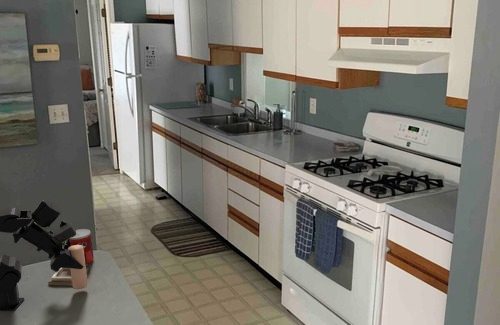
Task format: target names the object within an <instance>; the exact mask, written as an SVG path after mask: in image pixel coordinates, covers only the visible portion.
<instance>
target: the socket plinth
mask: <svg viewBox="0 0 500 325" xmlns="http://www.w3.org/2000/svg"><path fill="white" fill-rule="evenodd" d="M88 272H89V268H87V267H86V273H87V274H88ZM47 283H48V286H73V285H72V278H71V270H70V268H60V270H59V271H58V272H54V274H53V275H52V276H51V278H50V279H49V280H48V282H47Z"/></svg>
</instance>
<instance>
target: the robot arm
mask: <svg viewBox="0 0 500 325" xmlns="http://www.w3.org/2000/svg"><path fill="white" fill-rule="evenodd" d="M62 213H63V211H62V209H61V208H60V207H59V206H58V205H56V204H55V203H54V202H51V201H49V200H45V199H43V198H42V199H41V200H40V201H39V203H38V204H37V206H36V207H35V208H34V209H18V208H16V207H7V208H3V209H0V233H5V234H6V233H7V234H12V237H13V242H14V244H17V243H18V242H19V241H20V240H21V239H22V240H24V241H25V242H27V243H28V244H30V245H32V246H33V247H35V250H36V251H37V252H40V251H42V252H43V253H45V254H46V255H47V258H48V259H50V270H51V271H53V272H54V273H56V272H58V271H59V270H60V268H73V269H82V268H83V267H84V266H83V265H82V264H81V263H80V262H79V261H77V260H76V259H75V258H74V257H73V256H72V254H71V249H70V251H68V248H69V247H71V242H70V239H69V238H71V237H74V236H75V235H76V230H77V229H76V228H75V226H74V225H73V223H72V222H70V221H67V220H64V219H63V220H61V221H60V222H59V227H58V228H56V230H52V229H48V230H47V229H46V228H47V227H48V228H49V227H51V226H52V225H53V223H54V222H55V221H56V220H57V218H58V217H60V215H61V214H62ZM68 239H69V240H68ZM22 272H23V265H22V263H21V261H20V260H18V259H17V257H15V256H9V255H6V254H5V253H2V254H1V257H0V311H15V310H16V309H17V308H18V307H19V306H20V305H21V304H22V303H23V302H24V301H25V298H24V297H20V293H19V286H18V283H19V282H20V281H21V280H22V274H23V273H22Z"/></svg>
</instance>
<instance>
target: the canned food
mask: <svg viewBox="0 0 500 325" xmlns="http://www.w3.org/2000/svg"><path fill="white" fill-rule="evenodd" d="M91 233H92V232H91V230H90V229H87V228H80V229H76V235H75V236H74V237H71V238H69V239H70V242H71V246H74V245H82V246H83V249H84V257H85V265H86V266H87V265H90V264H91V263H92V262H93V261H94V259H95V258H94V250H93V249H94V247H93V241H92V234H91ZM69 239H67V241H68V240H69Z"/></svg>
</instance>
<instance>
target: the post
mask: <svg viewBox="0 0 500 325" xmlns="http://www.w3.org/2000/svg"><path fill="white" fill-rule="evenodd" d="M70 249H71V254H72V256H73V257H74V258H75V259H76V260H77V261H79V262H80V263H81V264H82V265H83V266H84V267H83V268H82V269H73V268H70V270H71V278H72V285H71V286H72V288H73V290H83V289H85V288H87V287H88V285H89V284H88V283H89V282H88V275H87V274H88V272H87V273H86V268H87V267H86V266H87V265H85V257H84V249H83V246H82V245H74V246H71V247H69V248H68V251H70Z"/></svg>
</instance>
